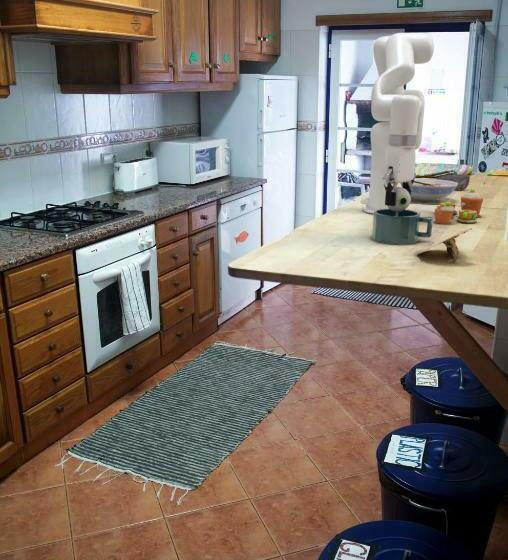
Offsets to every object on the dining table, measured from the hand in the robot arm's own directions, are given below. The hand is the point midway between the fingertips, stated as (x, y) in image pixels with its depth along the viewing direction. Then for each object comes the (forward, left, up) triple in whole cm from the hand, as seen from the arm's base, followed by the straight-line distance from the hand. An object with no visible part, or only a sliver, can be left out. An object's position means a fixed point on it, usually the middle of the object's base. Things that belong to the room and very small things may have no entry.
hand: (397, 203), depth 183 cm
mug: (+2, +1, -11) cm, 11 cm away
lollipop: (0, 0, -10) cm, 10 cm away
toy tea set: (-3, +44, -11) cm, 45 cm away
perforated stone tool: (-38, +108, -11) cm, 115 cm away
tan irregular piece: (+20, -9, -11) cm, 24 cm away
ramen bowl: (-30, +72, -11) cm, 79 cm away
